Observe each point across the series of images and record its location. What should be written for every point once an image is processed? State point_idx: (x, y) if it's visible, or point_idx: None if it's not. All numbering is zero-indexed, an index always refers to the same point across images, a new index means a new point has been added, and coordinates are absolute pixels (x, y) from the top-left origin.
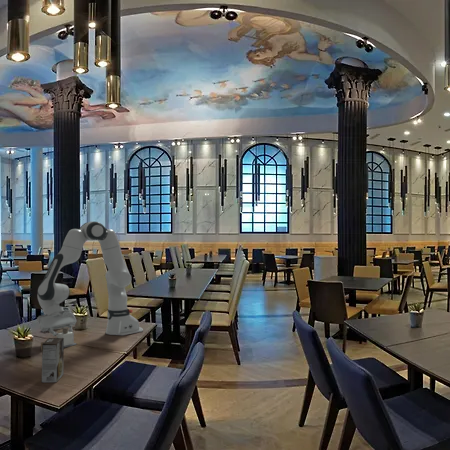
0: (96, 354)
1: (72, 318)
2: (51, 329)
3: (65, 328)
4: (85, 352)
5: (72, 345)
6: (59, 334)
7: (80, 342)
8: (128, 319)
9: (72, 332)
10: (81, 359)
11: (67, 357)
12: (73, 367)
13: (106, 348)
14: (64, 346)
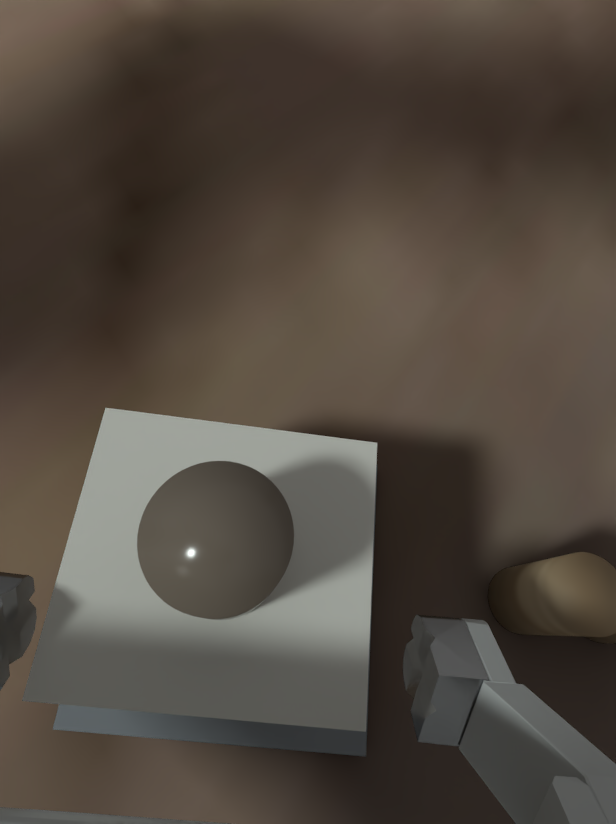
0: (307, 63)
1: None
2: (608, 780)
3: (216, 527)
4: (321, 158)
5: None
6: (368, 586)
7: (8, 483)
8: None
9: (98, 450)
10: (468, 81)
11: (519, 189)
12: (599, 35)
13: (111, 86)
14: None
